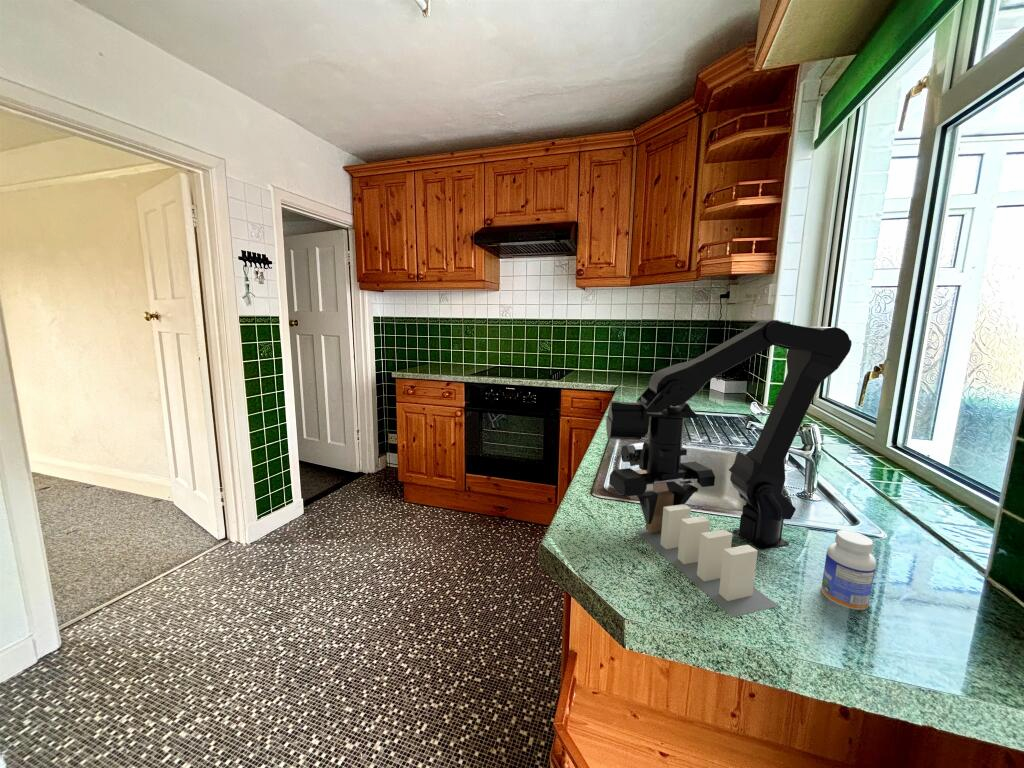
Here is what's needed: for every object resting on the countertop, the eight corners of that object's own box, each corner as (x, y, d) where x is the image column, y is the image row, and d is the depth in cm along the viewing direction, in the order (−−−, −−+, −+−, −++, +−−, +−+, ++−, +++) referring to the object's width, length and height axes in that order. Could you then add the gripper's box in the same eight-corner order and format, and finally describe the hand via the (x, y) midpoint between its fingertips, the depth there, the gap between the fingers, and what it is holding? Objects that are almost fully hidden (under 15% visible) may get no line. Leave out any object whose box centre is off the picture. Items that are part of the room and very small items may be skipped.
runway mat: (671, 527, 78) (671, 525, 78) (778, 608, 57) (779, 605, 57) (634, 532, 76) (634, 530, 76) (732, 619, 54) (732, 616, 54)
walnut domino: (665, 525, 77) (668, 490, 76) (671, 529, 76) (674, 494, 74) (645, 528, 76) (648, 493, 75) (650, 533, 74) (653, 496, 73)
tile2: (681, 540, 73) (684, 504, 72) (687, 545, 71) (691, 508, 70) (660, 544, 72) (663, 506, 71) (666, 549, 70) (669, 511, 69)
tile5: (743, 588, 60) (748, 544, 59) (752, 595, 59) (757, 550, 58) (718, 593, 59) (723, 549, 58) (727, 601, 57) (732, 555, 56)
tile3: (699, 554, 69) (703, 515, 68) (706, 560, 67) (710, 520, 66) (677, 558, 67) (680, 519, 66) (684, 564, 66) (687, 523, 65)
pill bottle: (821, 582, 63) (830, 523, 61) (868, 597, 59) (878, 535, 58) (819, 600, 58) (828, 537, 57) (869, 618, 55) (880, 552, 53)
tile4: (719, 570, 64) (724, 529, 63) (727, 576, 63) (732, 534, 62) (696, 575, 63) (700, 533, 62) (704, 581, 62) (708, 538, 61)
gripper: (679, 425, 83) (673, 497, 86) (596, 431, 78) (593, 508, 81) (721, 441, 73) (712, 523, 75) (629, 449, 67) (623, 537, 70)
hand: (659, 521), depth 75 cm, fingers closed on walnut domino, 4 cm apart
